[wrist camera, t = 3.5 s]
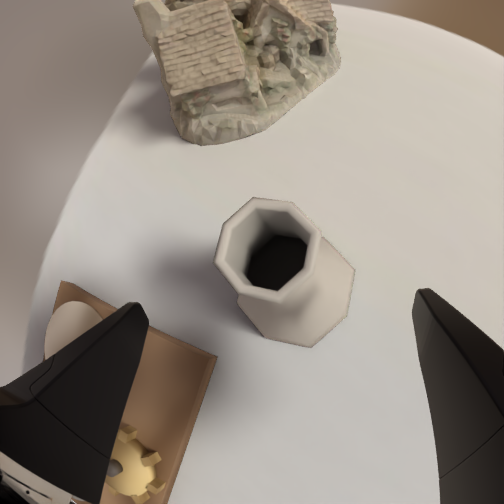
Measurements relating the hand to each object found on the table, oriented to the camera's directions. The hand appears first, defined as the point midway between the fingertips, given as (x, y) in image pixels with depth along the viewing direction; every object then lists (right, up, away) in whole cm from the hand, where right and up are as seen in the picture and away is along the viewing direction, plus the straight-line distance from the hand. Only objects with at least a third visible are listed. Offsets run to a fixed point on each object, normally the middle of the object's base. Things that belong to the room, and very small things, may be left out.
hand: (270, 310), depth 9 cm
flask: (+2, -1, +10) cm, 10 cm away
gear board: (-13, -13, +10) cm, 21 cm away
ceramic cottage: (0, +18, +15) cm, 23 cm away
